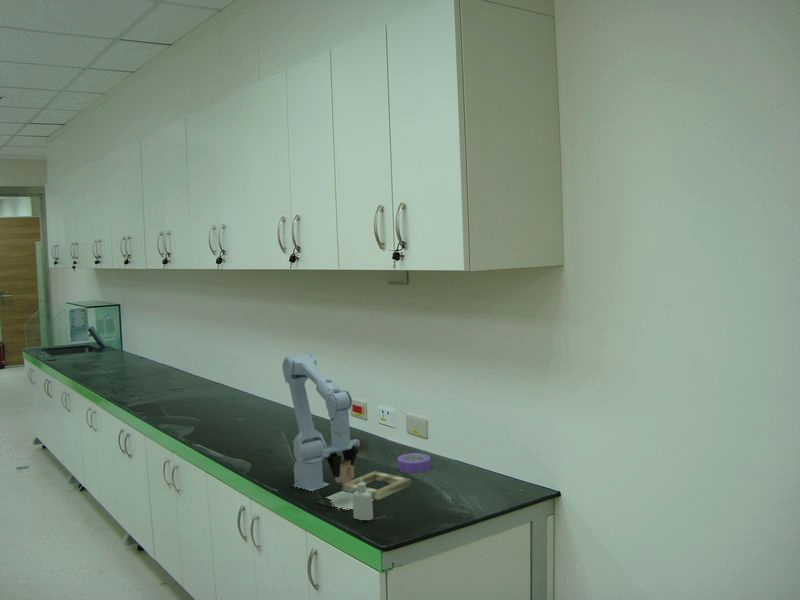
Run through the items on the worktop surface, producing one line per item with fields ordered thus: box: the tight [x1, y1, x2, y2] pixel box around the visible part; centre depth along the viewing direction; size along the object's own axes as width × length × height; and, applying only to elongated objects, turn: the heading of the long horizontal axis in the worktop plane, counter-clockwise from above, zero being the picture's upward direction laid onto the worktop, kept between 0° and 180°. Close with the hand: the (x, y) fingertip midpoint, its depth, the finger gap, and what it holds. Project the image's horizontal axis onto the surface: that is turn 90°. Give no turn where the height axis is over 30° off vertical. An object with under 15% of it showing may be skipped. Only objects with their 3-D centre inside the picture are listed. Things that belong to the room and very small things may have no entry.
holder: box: [341, 470, 412, 501], centre depth 229 cm, size 16×16×2 cm
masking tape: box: [397, 452, 432, 474], centre depth 248 cm, size 12×12×4 cm
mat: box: [325, 490, 375, 510], centre depth 218 cm, size 14×12×1 cm
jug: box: [334, 458, 355, 484], centre depth 217 cm, size 5×7×6 cm
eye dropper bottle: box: [352, 479, 374, 521], centre depth 202 cm, size 4×6×12 cm
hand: (342, 474), depth 217 cm, fingers closed on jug, 5 cm apart
